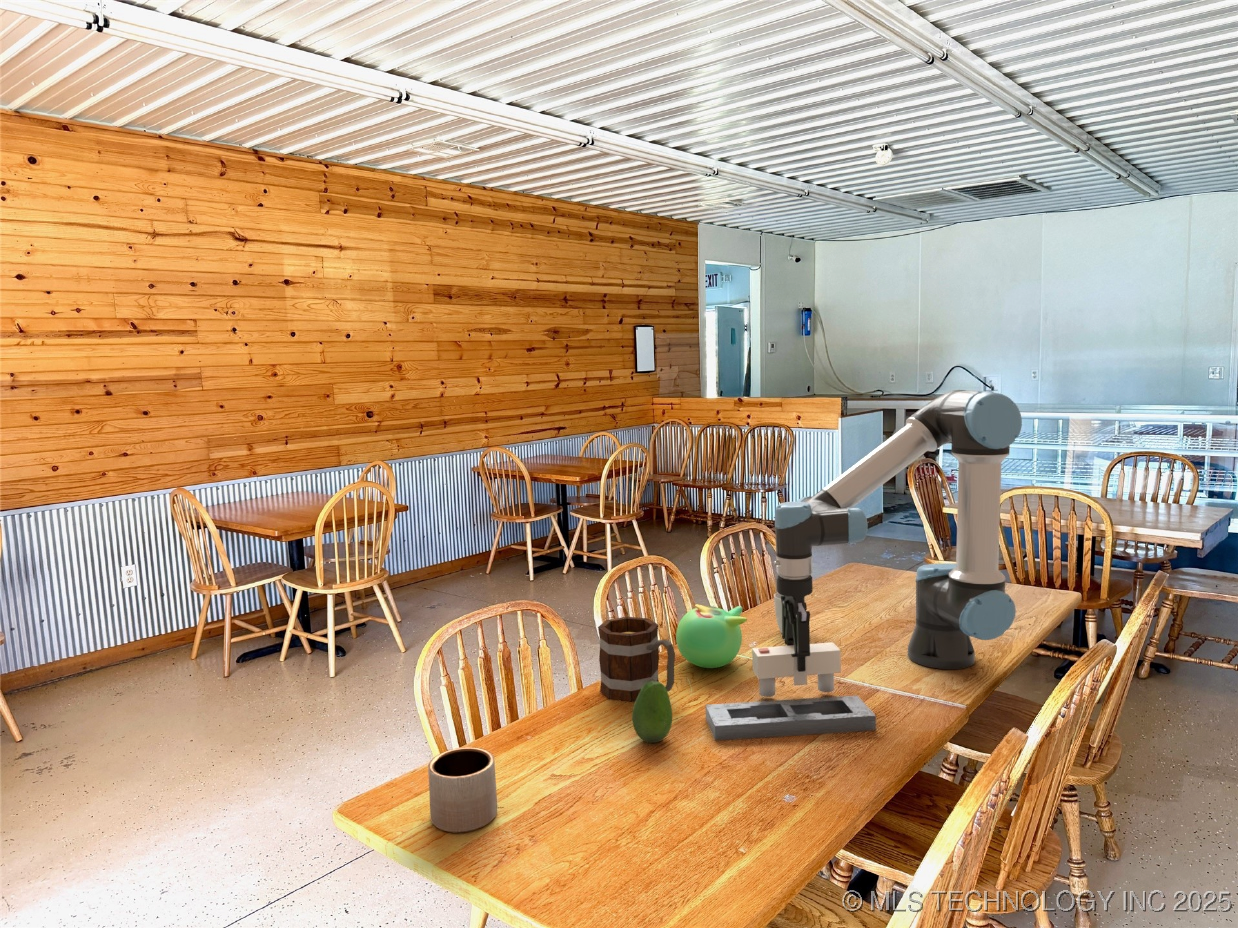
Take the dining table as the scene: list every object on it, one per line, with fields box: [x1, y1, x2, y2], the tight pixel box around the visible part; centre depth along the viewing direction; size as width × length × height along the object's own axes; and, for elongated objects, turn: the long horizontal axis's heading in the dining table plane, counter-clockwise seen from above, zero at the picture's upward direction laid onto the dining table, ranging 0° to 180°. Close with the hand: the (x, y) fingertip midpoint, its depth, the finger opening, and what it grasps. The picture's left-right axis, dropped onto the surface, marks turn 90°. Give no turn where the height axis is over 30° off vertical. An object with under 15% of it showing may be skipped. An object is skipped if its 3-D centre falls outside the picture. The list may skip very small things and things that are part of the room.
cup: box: [773, 592, 806, 634], centre depth 223 cm, size 8×8×10 cm
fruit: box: [631, 681, 673, 744], centre depth 162 cm, size 8×8×12 cm
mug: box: [597, 616, 676, 703], centre depth 184 cm, size 20×14×15 cm
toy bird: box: [675, 604, 748, 669], centre depth 201 cm, size 18×17×15 cm
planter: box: [427, 746, 498, 834], centre depth 137 cm, size 11×11×10 cm
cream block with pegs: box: [751, 641, 842, 698], centre depth 180 cm, size 18×5×10 cm, turn 95°
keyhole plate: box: [705, 694, 877, 742], centre depth 167 cm, size 32×10×3 cm, turn 95°
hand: (796, 678), depth 180 cm, fingers closed on cream block with pegs, 5 cm apart
